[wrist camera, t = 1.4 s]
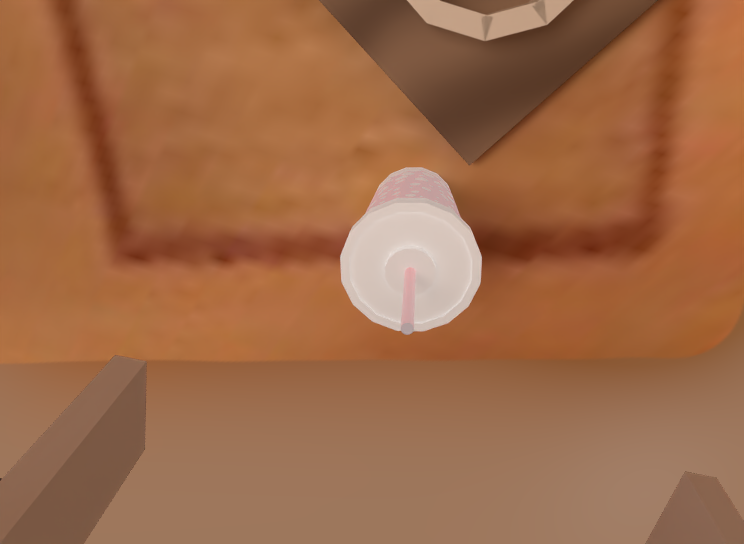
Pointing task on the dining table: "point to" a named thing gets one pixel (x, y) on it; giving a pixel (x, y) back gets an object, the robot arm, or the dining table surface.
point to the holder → (481, 60)
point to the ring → (489, 17)
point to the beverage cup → (411, 255)
